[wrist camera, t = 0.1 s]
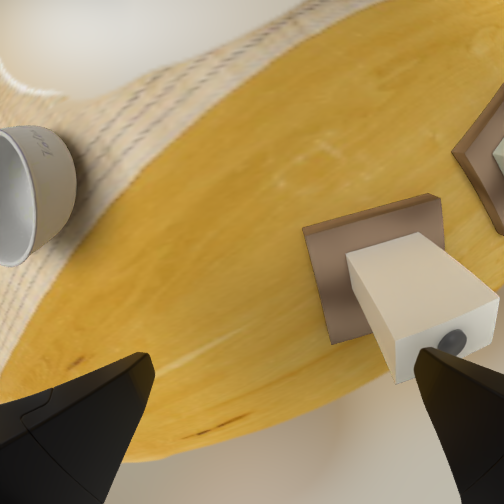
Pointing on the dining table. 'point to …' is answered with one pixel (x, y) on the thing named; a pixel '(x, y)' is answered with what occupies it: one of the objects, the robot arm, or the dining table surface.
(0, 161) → the teacup
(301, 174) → the dining table surface
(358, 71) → the dining table surface
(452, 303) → the tile one
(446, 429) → the robot arm
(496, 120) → the plinth
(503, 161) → the tile two
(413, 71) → the dining table surface
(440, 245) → the plinth
